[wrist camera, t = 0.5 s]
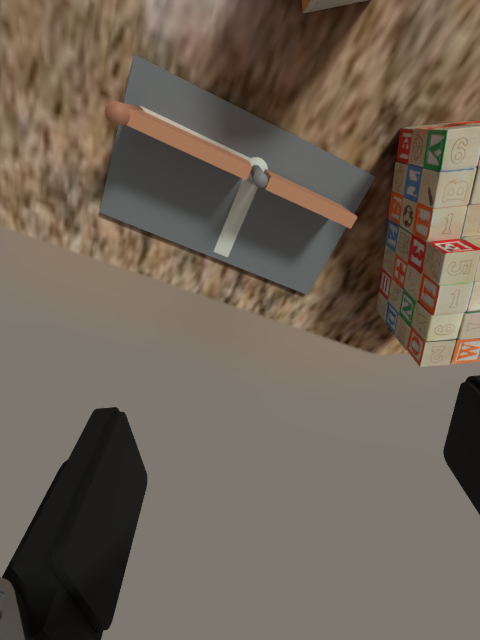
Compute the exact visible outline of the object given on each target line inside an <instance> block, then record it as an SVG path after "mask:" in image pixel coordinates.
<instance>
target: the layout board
mask: <svg viewBox="0 0 480 640" xmlns="http://www.w3.org/2000/svg"><path fill="white" fill-rule="evenodd" d="M124 103H126V104H131V105H135V106H139V107H141V108H142V109H143V110H144V111H145V112H147V113H149V114H151V115H153V116H155V117H157V118H159V119H161V120H164V121H166V122H168V123H170V124H172V125H174V126H176V127H178V128H180V129H183V130H185V131H187V132H189V133H191V134H193V135H195V136H197V137H199V138H202V139H204V140H206V141H208V142H210V143H212V144H214V145H216V146H218V147H221V148H223V149H225V150H227V151H229V152H231V153H233V154H235V155H237V156H240V157H242V158H244V159H246V160H248V161H249V162H250V164H251V166H253V165H258V166H260V168H261V169H262V170H263V172H264V170H265V169H267V170H269V171H271V172H273V173H275V174H277V175H279V176H281V177H283V178H286V179H288V180H290V181H292V182H294V183H296V184H298V185H300V186H303V187H305V188H307V189H309V190H311V191H313V192H315V193H317V194H319V195H322V196H324V197H326V198H328V199H330V200H332V201H334V202H336V203H338V204H340V205H342V206H343V207H345V208H346V209H347V210H349V211H350V212H352V213H353V214H355V212H356V210H357V208H358V207H359V205H360V203H361V202H362V200H363V198H364V196H365V195H366V193H367V191H368V189H369V188H370V186H371V184H372V182H373V181H374V179H375V176H374V175H372V174H370V173H368V172H366V171H364V170H362V169H360V168H358V167H356V166H354V165H352V164H350V163H348V162H346V161H344V160H342V159H340V158H338V157H336V156H334V155H332V154H330V153H328V152H326V151H324V150H322V149H320V148H318V147H316V146H314V145H312V144H310V143H308V142H306V141H304V140H302V139H301V138H299V137H297V136H295V135H293V134H291V133H289V132H287V131H285V130H283V129H281V128H279V127H277V126H275V125H273V124H271V123H269V122H267V121H265V120H263V119H261V118H259V117H257V116H255V115H253V114H251V113H249V112H247V111H245V110H243V109H241V108H239V107H237V106H235V105H233V104H231V103H229V102H228V101H226V100H224V99H222V98H220V97H218V96H216V95H214V94H212V93H210V92H208V91H206V90H204V89H202V88H200V87H198V86H196V85H194V84H192V83H190V82H188V81H186V80H184V79H182V78H180V77H178V76H176V75H174V74H172V73H170V72H168V71H166V70H164V69H162V68H160V67H158V66H156V65H155V64H153V63H151V62H149V61H147V60H145V59H143V58H141V57H139V56H137V55H135V54H134V58H133V62H132V67H131V71H130V76H129V80H128V85H127V89H126V94H125V98H124ZM99 212H100V213H102V214H105V215H107V216H110V217H112V218H115V219H117V220H120V221H122V222H125V223H127V224H130V225H132V226H135V227H137V228H140V229H143V230H145V231H148V232H150V233H153V234H155V235H158V236H160V237H163V238H165V239H168V240H170V241H173V242H175V243H178V244H180V245H183V246H185V247H188V248H190V249H193V250H195V251H198V252H200V253H203V254H206V255H208V256H211V257H213V258H216V259H218V260H221V261H223V262H226V263H228V264H231V265H233V266H236V267H238V268H241V269H243V270H246V271H248V272H251V273H253V274H256V275H258V276H261V277H263V278H266V279H269V280H271V281H274V282H276V283H279V284H281V285H284V286H286V287H289V288H291V289H294V290H296V291H299V292H301V293H304V294H306V295H308V293H309V292H310V290H311V288H312V286H313V285H314V283H315V281H316V279H317V278H318V276H319V274H320V273H321V271H322V269H323V267H324V266H325V264H326V262H327V260H328V259H329V257H330V255H331V254H332V252H333V250H334V248H335V247H336V245H337V243H338V241H339V240H340V238H341V236H342V234H343V233H344V231H345V229H346V228H347V227H346V226H344V225H342V224H339V223H337V222H335V221H333V220H331V219H328V218H326V217H324V216H322V215H320V214H318V213H315V212H313V211H311V210H309V209H307V208H304V207H302V206H300V205H298V204H296V203H294V202H291V201H289V200H287V199H285V198H283V197H281V196H278V195H276V194H274V193H272V192H270V191H267V190H265V188H264V187H263V188H258V187H257V186H256V185H255V184H254V181H253V179H252V177H251V174H249V176H248V179H247V180H245V179H242V178H240V177H238V176H236V175H234V174H232V173H229V172H227V171H225V170H223V169H221V168H219V167H216V166H214V165H212V164H210V163H208V162H205V161H203V160H201V159H199V158H197V157H195V156H192V155H190V154H188V153H186V152H184V151H181V150H179V149H177V148H175V147H173V146H171V145H168V144H166V143H164V142H162V141H160V140H158V139H155V138H153V137H151V136H149V135H147V134H144V133H142V132H140V131H138V130H136V129H134V128H131V127H129V126H127V125H118V130H117V134H116V139H115V143H114V148H113V152H112V157H111V161H110V166H109V170H108V175H107V179H106V184H105V188H104V193H103V197H102V202H101V206H100V211H99Z"/></svg>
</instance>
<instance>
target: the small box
mask: <svg viewBox="0 0 480 640" xmlns="http://www.w3.org/2000/svg"><path fill="white" fill-rule="evenodd" d="M362 1H367V0H302V13H308V12H313V11H318V10H323V9H328V8H333V7H338V6H342V5H347V4H352V3H357V2H362Z"/></svg>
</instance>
